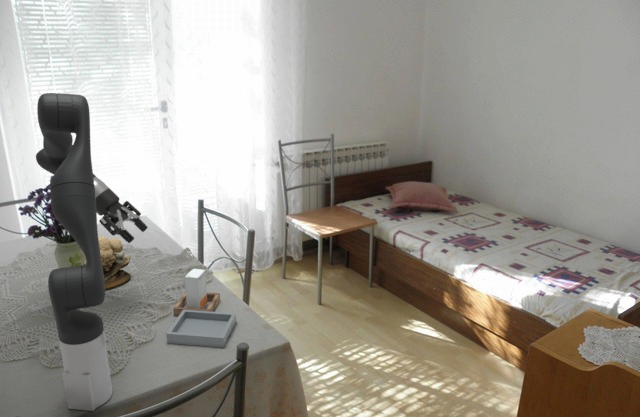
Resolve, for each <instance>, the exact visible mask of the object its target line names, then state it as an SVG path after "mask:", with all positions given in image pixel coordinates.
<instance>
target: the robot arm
mask: <svg viewBox="0 0 640 417" xmlns="http://www.w3.org/2000/svg"><path fill="white" fill-rule="evenodd" d="M36 107H37V110H36V111H37V120H38V126H39V129H40V133H41V135H42V137H43V140H42V145H43V148H41V149H40V150H39V151H38V152H37V153H36V154H35V160H36V162H37V164H38V166H40V167H41V168H42V169H43V170H45V171H46V172H48V173H50V174H52V175H53V176H52V178H51V180H50V182H49V183H50V184H49V188H50V203H51V211H52V214H53V215H54V217H55V219H56V220H57V222H59V224H60V225H61V226H62V227H63V228H64V229H65V230H66V232H68V234H70V236H71V237H72V238H73V239H74V241H75V242H76V244H77V246H78V247H79V248H80V249H81V250H82V251H83V253H84V255H85V258H86V262H87V263H86V265H83V266H82V265H81V266H77V265H75V266H67V267H65V266H64V267H60V268H54V269H52V270H51V271H50V273H49V274H48V279H47V286H48V294H49V298H50V302H51V307H52V310H53V314H54V318H55V319H54V320H55V324H56V325H55V326H56V329H57V335H58V336H57V337H58V340H59V341H58V342H59V346H60V347H59V348H60V353H61V360H62V365H63V370H64V372H63V373H62V380H63V386H64V390H65V395H66V396H65V398H66V402H67V403H66V404H67V407H68V409H70V410H80V411H89V412H94V411H95V410H96V409H97V408H98V407H100V406H102V405H105V404H106V403H107V402H108V401H109V400H110V399H111V397H112V395H113V386H112V378H111V371H110V365H109V364H110V363H109V359H108V358H109V356H108V350H107V344H106V335H105V329H104V321H103V318H102V317H101V316H100V315H98V314H96V313H95V312H90V311H85V310H80V309H87V308H93V307H96V306H97V307H98V306H101V305H102V304H103V303H104V302H105V298H106V291H105V282H104V274H103V267H102V261H101V254H100V247H99V240H98V237H99V234H98V222H99V224H101V226H102V227H104V228H105V230H107V232H108V233H109V234H111V236H113V237H114V236H115V235H118V236H120V237H121V238H122V239H124V241H125V242H127V243H128V244H130V243H131V242H133V241H134V240H135V236H133V235H132V234H131V233H130V232H129V231H128V230H127V229H126V228H125V227H124V222H130V223H133V225H134V226H135V227H136V228H138V230H140V231H141V232H142V233H144V232H145V231H146V230H147V229H148V226H147V225H146V223H145V222H144V221H142V219H141V217H140V216H141V215H142V213H141V212H140V211H139V210H138V209H137V208H136V207H135V206H133V204H131V203H130V202H129V200H126V201H124V202H123V204H122V203H120V197H119V196H118V195H117V194H116V193H115V192H114V191H113V190H112V189H111V188H110V187H109V186H108V185H107V184H106V183H105V182H103V181H102V180H101V179H100V178H98V177H97V175H95V174H94V173H93V163H92V154H91V153H92V151H91V119H90V118H91V115H90V106H89V101H88V99H87V98H86V97H85V96H84V95H81V94H77V93H76V94H75V93H74V94H73V93H59V92H58V93H57V92H49V93H48V92H45V93H42V94H41V95H40V96H39V97H38V99H37V105H36ZM72 134H75V139H74V138H73V135H72ZM73 139H74V140H73ZM73 141H74V142H73ZM97 215H98V216H101V218H100V219H99V220H98V217H97ZM81 250H80V251H81Z"/></svg>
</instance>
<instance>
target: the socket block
mask: <svg viewBox="0 0 640 417" xmlns="http://www.w3.org/2000/svg"><path fill="white" fill-rule="evenodd" d="M207 302H210V303H209V305H208V306H207V308H203V309H198V308H187V307H185V306H186V305H187V301H186V291H184V293H183V294H182V296H181V297H180V299H179V300H178V301H177V302H176V304H175V305H174V307H173V308H172V309H173V316H174V317H178V316H179V315H180V313H181V312H182V311H183V310H196V311H210V312H215V310H216V308H217V307H218V305H219V303H220V302H221V295H220V292H219V293H218V292H207Z"/></svg>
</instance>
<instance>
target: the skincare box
mask: <svg viewBox="0 0 640 417" xmlns="http://www.w3.org/2000/svg"><path fill="white" fill-rule="evenodd" d="M206 276H207V275H206V269H201V268H200V269H199V268H192V269H191V271H189V272H188V273H187V275H185V276H184V283H185V284H184V285H185V292H186V301H187V303H186V308H198V309H205V307H206V306H207V305H208V301H207V293H208V292H207V277H206Z"/></svg>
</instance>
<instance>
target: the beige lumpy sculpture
mask: <svg viewBox="0 0 640 417" xmlns="http://www.w3.org/2000/svg"><path fill="white" fill-rule="evenodd" d="M98 240H99V247H100V254H101V261H102V267H103V274H104V282H105V292H106V291H109V290H113V289H117V288H119V287H122V286H124V285H125V284H127V283H128V282H130V281H131V279H132V278H131V277H132V276H131V273H129V272H127V271H126V270H124V269H123V268H125V267H127V266H128V265H129V264H130V262H131V256H129V255H127V256H125V250H123V249H124V247H123V246H124V245H123V244H122V241H121V240H120V239H119V238H111V239H110V240H109V239H108V238H107V237H106V236H98ZM86 263H87V262H86V260H85V261H84V264H83V265H86Z"/></svg>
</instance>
